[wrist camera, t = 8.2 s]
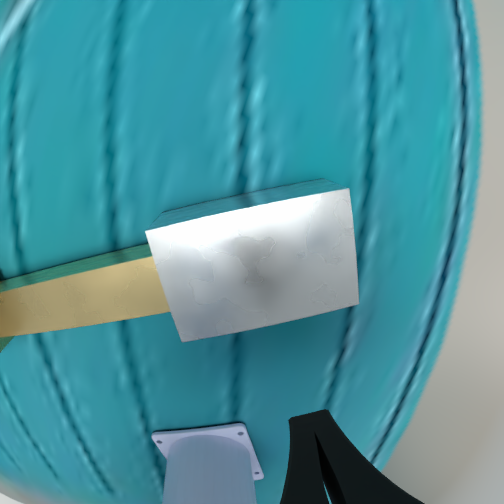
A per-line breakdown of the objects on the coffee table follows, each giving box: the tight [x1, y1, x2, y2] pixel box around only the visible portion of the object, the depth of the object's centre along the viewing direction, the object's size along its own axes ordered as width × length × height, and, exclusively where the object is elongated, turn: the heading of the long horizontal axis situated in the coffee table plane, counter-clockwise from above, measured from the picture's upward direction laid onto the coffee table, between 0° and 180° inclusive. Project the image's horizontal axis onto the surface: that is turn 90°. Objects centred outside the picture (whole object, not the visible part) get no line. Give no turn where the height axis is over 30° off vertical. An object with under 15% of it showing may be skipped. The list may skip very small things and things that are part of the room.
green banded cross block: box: [0, 243, 171, 352], centre depth 14 cm, size 5×20×6 cm, turn 101°
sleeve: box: [145, 179, 359, 342], centre depth 16 cm, size 6×9×4 cm, turn 101°
